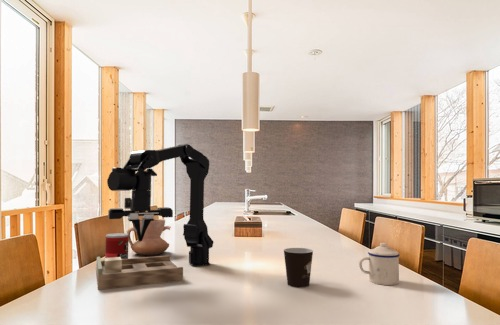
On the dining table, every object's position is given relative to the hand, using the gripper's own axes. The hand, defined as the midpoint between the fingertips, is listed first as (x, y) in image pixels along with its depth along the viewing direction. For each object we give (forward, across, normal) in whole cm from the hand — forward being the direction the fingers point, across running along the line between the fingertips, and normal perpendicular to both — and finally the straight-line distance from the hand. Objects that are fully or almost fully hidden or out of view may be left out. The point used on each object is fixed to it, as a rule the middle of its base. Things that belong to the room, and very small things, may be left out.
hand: (140, 241), depth 114 cm
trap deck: (+12, 0, -4) cm, 12 cm away
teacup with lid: (+12, -67, +30) cm, 74 cm away
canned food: (+12, +5, -24) cm, 27 cm away
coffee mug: (+12, -44, +23) cm, 51 cm away
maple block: (+9, +8, 0) cm, 12 cm away
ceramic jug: (+12, -9, -41) cm, 44 cm away
